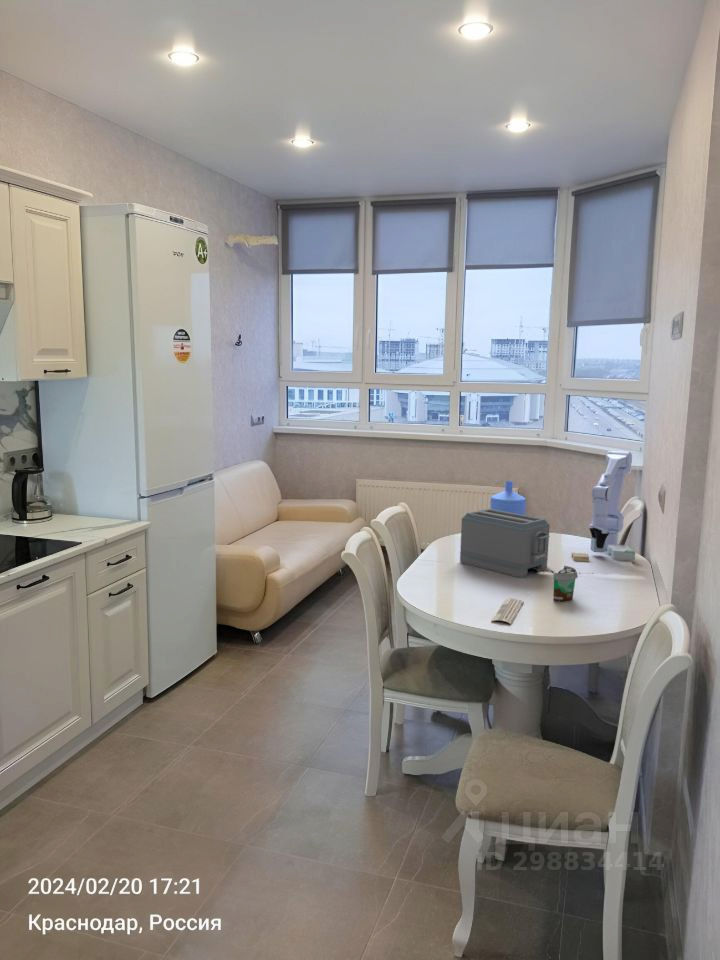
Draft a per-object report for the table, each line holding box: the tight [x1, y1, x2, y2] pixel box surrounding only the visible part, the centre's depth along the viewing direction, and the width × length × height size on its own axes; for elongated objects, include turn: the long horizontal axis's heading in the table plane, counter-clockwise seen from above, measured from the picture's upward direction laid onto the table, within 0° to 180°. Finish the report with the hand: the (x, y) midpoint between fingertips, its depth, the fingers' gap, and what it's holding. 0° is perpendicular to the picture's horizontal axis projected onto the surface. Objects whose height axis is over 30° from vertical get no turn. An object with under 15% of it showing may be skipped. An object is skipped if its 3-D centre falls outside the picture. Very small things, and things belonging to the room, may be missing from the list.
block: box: [590, 537, 606, 553], centre depth 302 cm, size 4×4×5 cm
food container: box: [552, 565, 578, 603], centre depth 248 cm, size 12×6×10 cm, turn 148°
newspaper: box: [491, 598, 524, 625], centre depth 234 cm, size 24×7×2 cm, turn 158°
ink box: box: [606, 544, 636, 564], centre depth 303 cm, size 9×5×12 cm
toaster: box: [459, 508, 551, 579], centre depth 286 cm, size 19×33×20 cm, turn 44°
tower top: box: [571, 551, 590, 562], centre depth 297 cm, size 6×6×2 cm
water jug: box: [489, 480, 527, 515], centre depth 325 cm, size 16×16×28 cm
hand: (597, 546), depth 302 cm, fingers closed on block, 4 cm apart
